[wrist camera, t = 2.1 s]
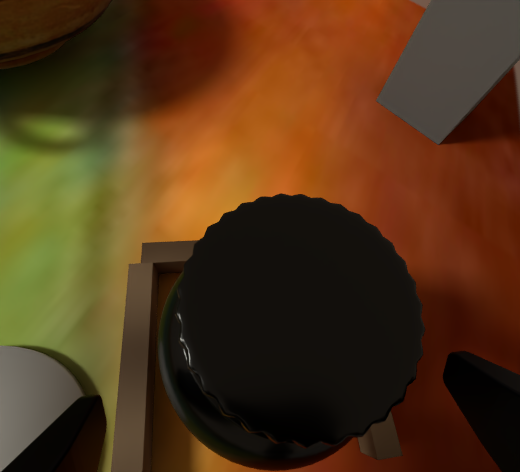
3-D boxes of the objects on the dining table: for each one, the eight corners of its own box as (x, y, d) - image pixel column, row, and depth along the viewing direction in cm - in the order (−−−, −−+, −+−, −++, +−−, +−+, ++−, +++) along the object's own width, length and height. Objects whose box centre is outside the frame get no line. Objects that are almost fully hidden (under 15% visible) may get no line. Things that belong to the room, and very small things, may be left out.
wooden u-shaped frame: (383, 448, 15) (402, 455, 13) (121, 492, 13) (107, 507, 11) (334, 245, 20) (344, 233, 18) (138, 256, 18) (131, 243, 16)
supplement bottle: (274, 275, 18) (349, 123, 8) (336, 383, 16) (564, 377, 5) (167, 327, 16) (68, 217, 6) (220, 461, 14) (222, 702, 3)
